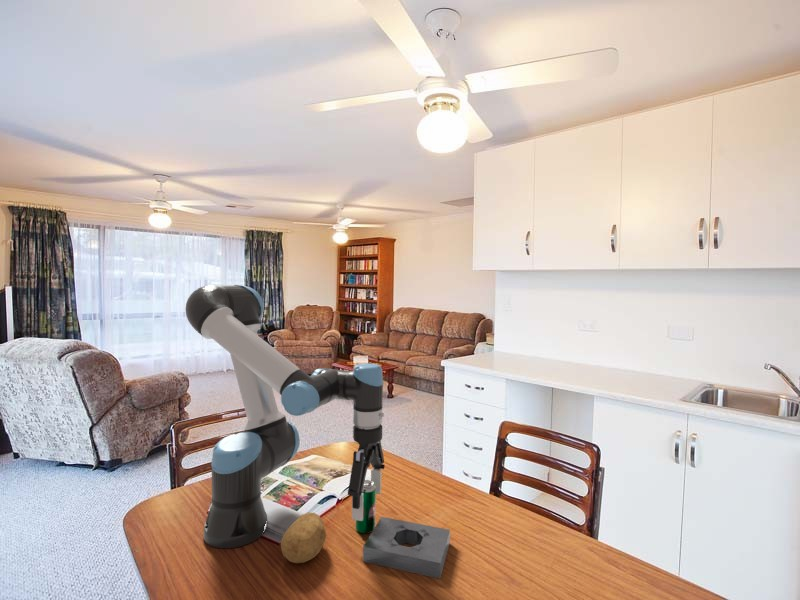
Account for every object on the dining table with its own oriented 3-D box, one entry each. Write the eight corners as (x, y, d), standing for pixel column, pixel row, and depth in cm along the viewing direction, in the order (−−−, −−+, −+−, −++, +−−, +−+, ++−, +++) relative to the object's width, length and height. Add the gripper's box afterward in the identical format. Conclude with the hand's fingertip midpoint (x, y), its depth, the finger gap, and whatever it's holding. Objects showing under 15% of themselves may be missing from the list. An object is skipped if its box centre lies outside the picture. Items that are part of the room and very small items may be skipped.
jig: (362, 561, 95) (363, 546, 95) (381, 529, 108) (381, 516, 108) (440, 578, 90) (440, 563, 90) (449, 543, 103) (450, 529, 103)
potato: (331, 537, 104) (331, 506, 104) (316, 577, 90) (317, 541, 90) (293, 535, 105) (293, 504, 104) (272, 574, 91) (273, 538, 90)
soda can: (372, 536, 105) (373, 489, 105) (352, 533, 106) (354, 487, 106) (377, 525, 110) (378, 480, 109) (358, 522, 111) (359, 478, 110)
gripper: (364, 443, 94) (363, 535, 95) (395, 411, 118) (394, 485, 119) (333, 439, 96) (333, 529, 97) (370, 409, 120) (370, 481, 121)
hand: (367, 505), depth 108 cm, fingers open, 13 cm apart
